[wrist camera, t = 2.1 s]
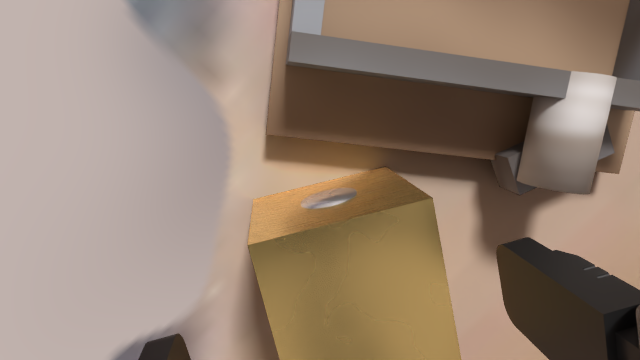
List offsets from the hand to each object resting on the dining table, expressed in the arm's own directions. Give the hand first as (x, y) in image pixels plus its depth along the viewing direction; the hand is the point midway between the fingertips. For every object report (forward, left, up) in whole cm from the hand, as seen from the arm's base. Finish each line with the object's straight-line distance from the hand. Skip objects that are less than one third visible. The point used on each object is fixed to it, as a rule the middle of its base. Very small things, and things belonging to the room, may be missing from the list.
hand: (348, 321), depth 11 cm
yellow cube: (0, -1, -6) cm, 6 cm away
